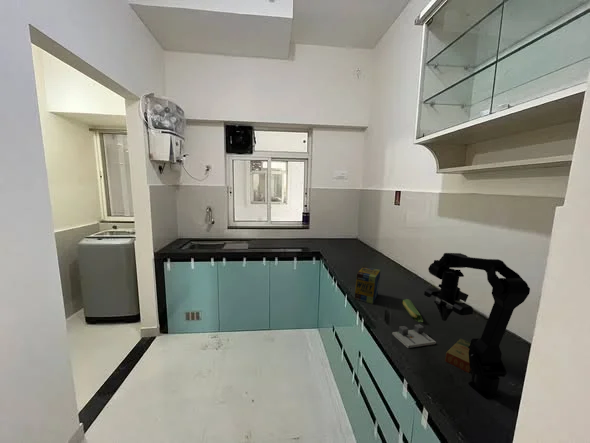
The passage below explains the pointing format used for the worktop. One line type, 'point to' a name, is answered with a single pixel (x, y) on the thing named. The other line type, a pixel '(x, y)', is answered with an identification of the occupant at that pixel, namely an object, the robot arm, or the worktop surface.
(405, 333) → the breaker
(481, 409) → the worktop surface
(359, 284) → the protein box
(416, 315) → the edible corn
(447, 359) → the carton
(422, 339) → the breaker board
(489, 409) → the worktop surface
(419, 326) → the block
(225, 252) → the worktop surface
